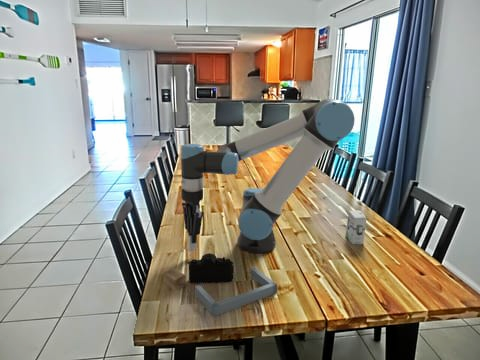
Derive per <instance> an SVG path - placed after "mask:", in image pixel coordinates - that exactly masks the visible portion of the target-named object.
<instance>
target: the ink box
mask: <svg viewBox="0 0 480 360" xmlns="http://www.w3.org/2000/svg"><path fill="white" fill-rule="evenodd" d="M346 221H347V222H346V230H345V231H346V232H345V237H346V238H347V240H348V241H349V243H351V245H364V244H365V243H364V241H365V234H366V233H365V232H366V224H367V217H366V216H365V214H364V213H363V212H362V211H361V210H360V209H359V210H357V209H356V210H348V215H347V220H346Z"/></svg>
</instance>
